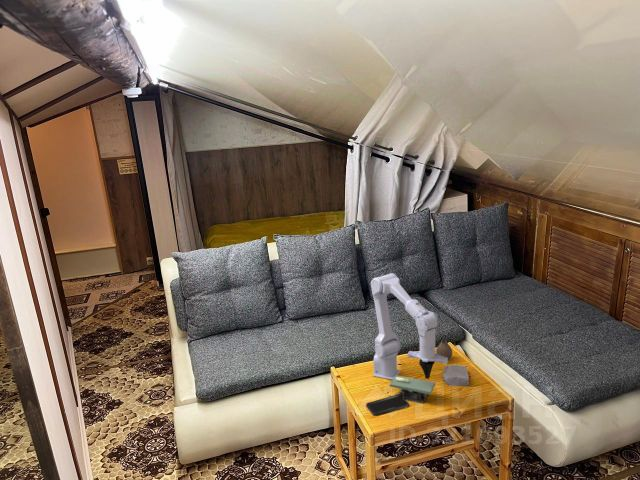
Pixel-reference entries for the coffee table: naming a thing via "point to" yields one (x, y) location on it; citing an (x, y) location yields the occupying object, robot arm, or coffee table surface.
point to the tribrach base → (412, 396)
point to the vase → (444, 350)
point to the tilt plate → (412, 384)
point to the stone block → (456, 375)
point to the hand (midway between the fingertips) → (427, 377)
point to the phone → (386, 405)
